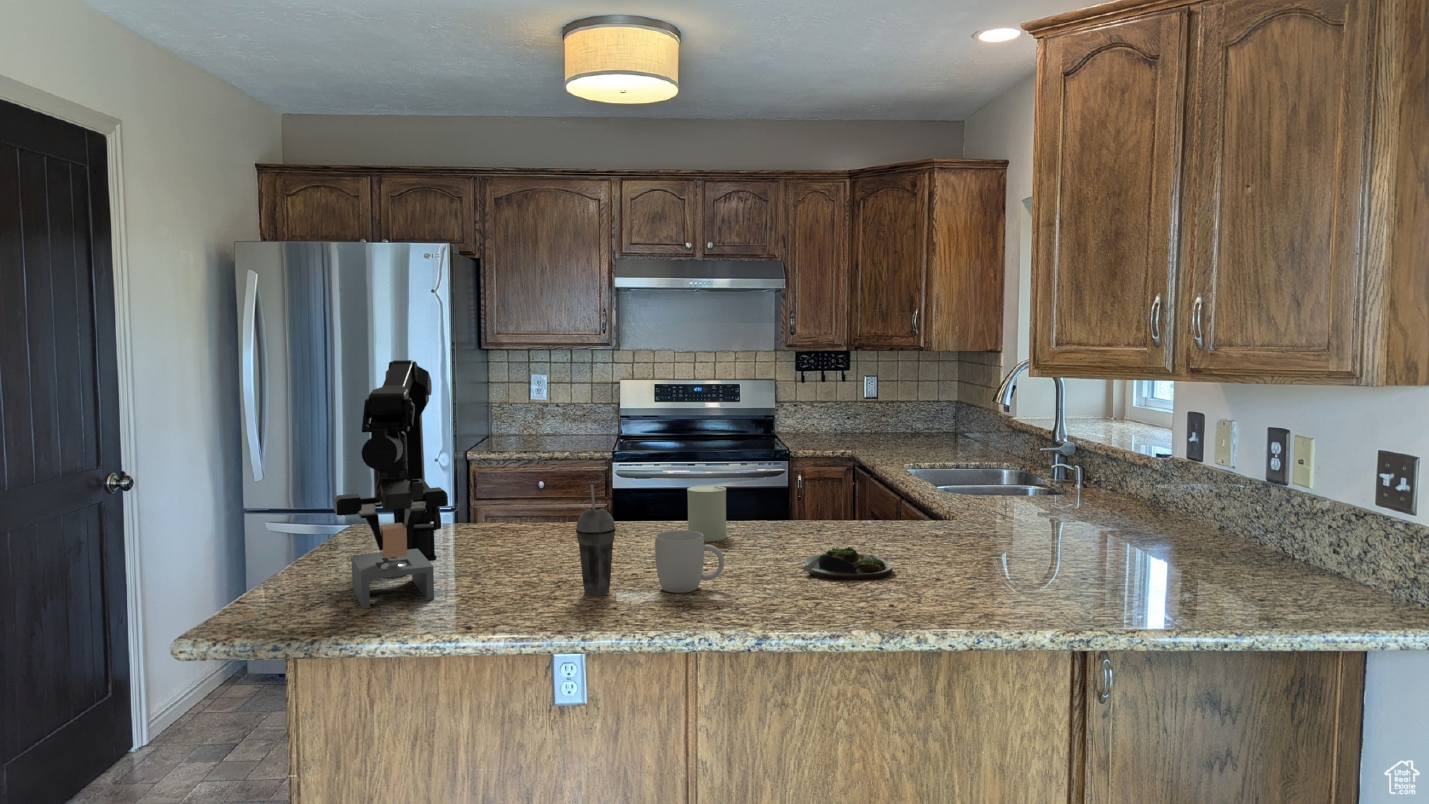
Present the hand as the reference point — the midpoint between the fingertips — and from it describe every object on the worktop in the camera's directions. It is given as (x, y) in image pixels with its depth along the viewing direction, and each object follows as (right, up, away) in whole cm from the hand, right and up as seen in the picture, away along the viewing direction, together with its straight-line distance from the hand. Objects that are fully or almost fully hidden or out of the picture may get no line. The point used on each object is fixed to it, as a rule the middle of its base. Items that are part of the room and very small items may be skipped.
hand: (393, 548), depth 163 cm
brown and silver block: (0, -5, 0) cm, 5 cm away
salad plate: (+84, -8, +17) cm, 86 cm away
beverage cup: (+36, -9, +2) cm, 37 cm away
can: (+56, -6, +49) cm, 75 cm away
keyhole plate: (-1, -9, +3) cm, 9 cm away
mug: (+53, -8, +5) cm, 54 cm away
